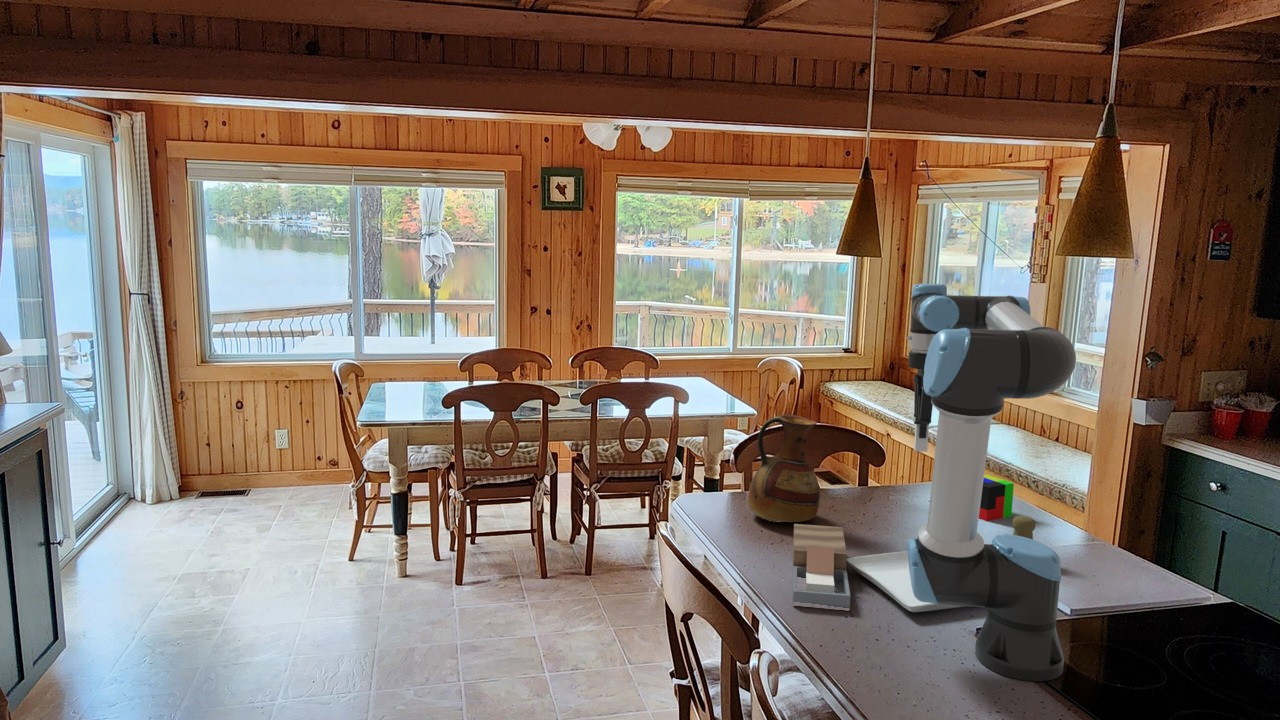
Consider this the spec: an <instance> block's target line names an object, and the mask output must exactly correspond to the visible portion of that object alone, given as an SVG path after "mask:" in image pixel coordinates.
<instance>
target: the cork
mask: <svg viewBox="0 0 1280 720" xmlns="http://www.w3.org/2000/svg"><path fill="white" fill-rule="evenodd" d="M1012 527H1013V534H1012V535H1017V536H1022V537H1026V538H1029V539H1032V540H1034V536H1033V533H1034V530H1035V529H1036V521H1035V520H1034V518H1032V517H1029V516H1027V515H1017V516H1015V517H1013V519H1012Z"/></svg>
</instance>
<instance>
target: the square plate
mask: <svg viewBox="0 0 1280 720" xmlns="http://www.w3.org/2000/svg"><path fill="white" fill-rule="evenodd" d="M846 563H848V564H849V566H851V568H852V569H853V570H855V571H856V572H857V573H858V574H860V575H861V576H862V577H864V578H865V579H866V580H868V581H870V583H872V584H873V585H875V586H876V587H878V588H879V589H880V590H882V591H883V592H884V593H886V594H887V595H888V596H890V597H891V598H892V599H893V600H894V601H896V603H897V604H899V605H900V606H901V607H902V608H904V609H905V610H907V611H908V612H911V613H921V612H931V611H932V612H933V611H939V610H947V609H948V610H949V609H954V608H955V609H956V608H963V607H965V606H959V605H946V604H940V605H937V604H935V603H928V602H921V601H919V600H918V599H917V598H916V597H915V596H914V594H913V590H912V585H911V579H910V572H909V563H908V550H906V551H905V550H903V551H896V552H894V551H893V552H885V553H878V554H870V555H869V554H868V555H861V556H853V557H847V560H846Z"/></svg>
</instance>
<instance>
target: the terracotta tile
mask: <svg viewBox="0 0 1280 720" xmlns="http://www.w3.org/2000/svg"><path fill="white" fill-rule="evenodd" d="M806 572H807V573H820V574H832V575H834V548H833V547H819V546H807V565H806Z"/></svg>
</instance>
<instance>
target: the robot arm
mask: <svg viewBox="0 0 1280 720" xmlns="http://www.w3.org/2000/svg"><path fill="white" fill-rule="evenodd" d="M947 288H948V287H947V286H946V285H945V284H941V283H916V284H914V285H913V286H912V289H911V290H912V291H911V298H910V301H911V303H910V304H911V307H910V308H911V309H910V310H911V311H910V328H909V331H910V332H909V334H910V335H909V336H907V337H906V340H907V341H909V345H908V346H909V347H908V348H909V349H910V351H908V359H907V360H908V363H907V364H908V367H909V368H911V369H915V370H917V371H916V374H914V376H913V377H914V378H913V382H914V398H913V399H914V401H913V402H914V410H913V411H914V412H913V417H914V421H913V424H914V426H915V427H914V445H913V450H914V452H922V453H923V452H926V453H927V452H928V444H929V425H930V424H932V416H933V415H932V414H933V407H934V408H935V409H936V410H937V411H938V419H937V432H936V441H935V449H934V458H933V468H932V469H933V470H932V478H931V485H930V486H931V490H930V498H929V508H928V509H929V510H928V515H927V516H928V518H927V523H925V524H923V525H922V526H921V527H920V528H919V530H918V532H917V538H915V537H914V538H910V539H908V540H907V546H906V548H907V549H906V551H908V563H909V572H910V579H911V585H912V590H913V594H914V596H915V597H916V598H917V599H918V600H919V601H921V602H928V603H935V604H937V605H940V604H946V605H959V606H964V607H972V608H973V607H975V608H987V616H986V619H985V620H984V622H983V624H982V627H981V629H980V631H979V633H978V635H977V637H976V639H975V646H974V647H975V649H974V653H975V656H976V659H978V661H979V662H980V663H981V664H983V666H984V667H987V668H988V669H989V670H991V671H993V672H995V673H998V674H999V675H1002V676H1005V677H1008V678H1013V679H1016V680H1021V681H1028V682H1029V681H1030V682H1045V681H1052V680H1055V679H1058V678H1059V677H1060V676H1062V675H1063V672H1064V664H1065V657H1064V653H1063V650H1062V647H1061V642H1060V638H1059V635H1058V631H1057V618H1058V609H1059V608H1058V606H1059V594H1060V593H1059V592H1060V584H1061V581H1062V575H1061V573H1062V572H1061V571H1062V570H1061V558H1060V556H1059V554H1058V553H1057V551H1055V550H1054V549H1053V548H1052V547H1050V546H1048V545H1047V544H1044V543H1042V542H1040V541H1038V540H1035V539H1033V540H1032V539H1029V538H1026V537H1022V536H1017V535H1013V534H1008V533H1007V534H1006V533H1004V534H1003V533H1002V534H997V535H995V536H994V537H993V539H992V540H991V544H988V543H985V540H984V538H983V536H982V535H981V534H980V533H979V532H978V528H979V527H978V525H979V511H980V504H981V496H982V488H983V480H984V474H985V473H986V472H985V471H986V463H987V462H986V461H987V455H988V449H989V448H988V447H989V440H990V434H991V433H990V432H991V431H990V430H991V425H992V423H991V422H992V419H993V418H994V417H996V416H998V415H999V414H1001V412H1002V411H1003V407H1004V400H1005V399H1018V400H1019V399H1025V400H1026V399H1028V400H1029V399H1035V398H1040V397H1043V396H1047V395H1049V394H1051V393H1053V392H1055V391H1057V390H1058V389H1059V388H1061V387H1062V386H1063V385H1065V384H1066V382H1068V380H1069V379H1070V378H1071V376H1072V374H1073V373H1074V370H1075V367H1076V364H1077V355H1076V354H1077V353H1076V350H1075V347H1074V346H1073V343H1072V342H1071V340H1070V339H1069V338H1068V337H1067V336H1066V335H1064V334H1063V333H1062V332H1061V331H1060V330H1057V329H1056V328H1054V327H1050V326H1043V324H1041V323H1040V322H1039V321H1038V320H1036V319H1035V318H1034V317H1033V316H1031V305H1030V302H1029V300H1028V298H1026V297H1023V296H1014V295H1002V296H1001V295H994V296H993V295H986V296H985V295H955V294H953V295H951V294H950V295H949V294H948V289H947Z"/></svg>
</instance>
